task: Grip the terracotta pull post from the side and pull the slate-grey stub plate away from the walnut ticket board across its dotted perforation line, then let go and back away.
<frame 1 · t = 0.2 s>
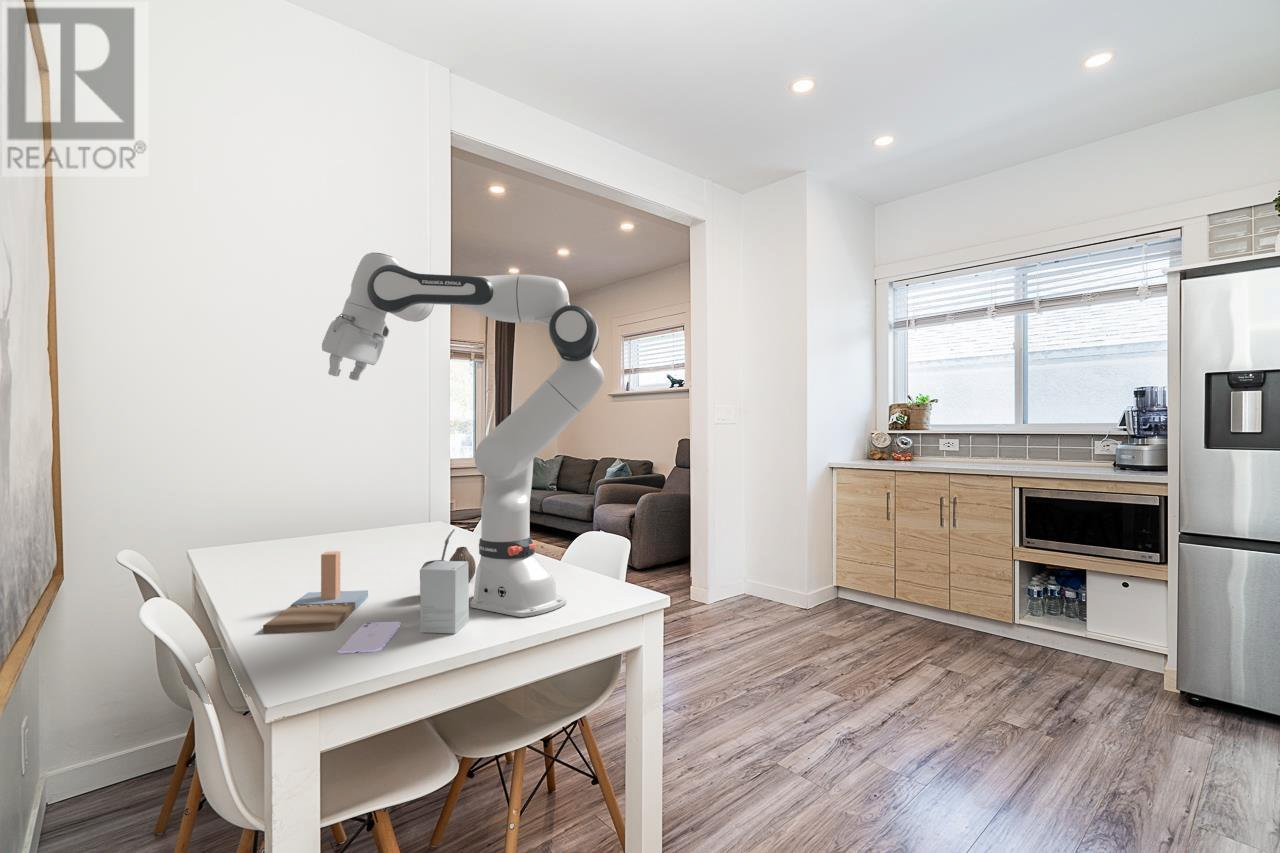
hand: (343, 377, 135), 51 cm above the table, tool tilted 15°, fingers open, 8 cm apart
vase: (461, 582, 151), on the table
supplement box: (445, 628, 117), on the table
ticket board: (323, 611, 126), on the table
mate gourd: (437, 596, 138), on the table
stub: (331, 578, 131), point 6 cm above the table, slide at 0.0 cm
mobile phone: (371, 640, 112), on the table
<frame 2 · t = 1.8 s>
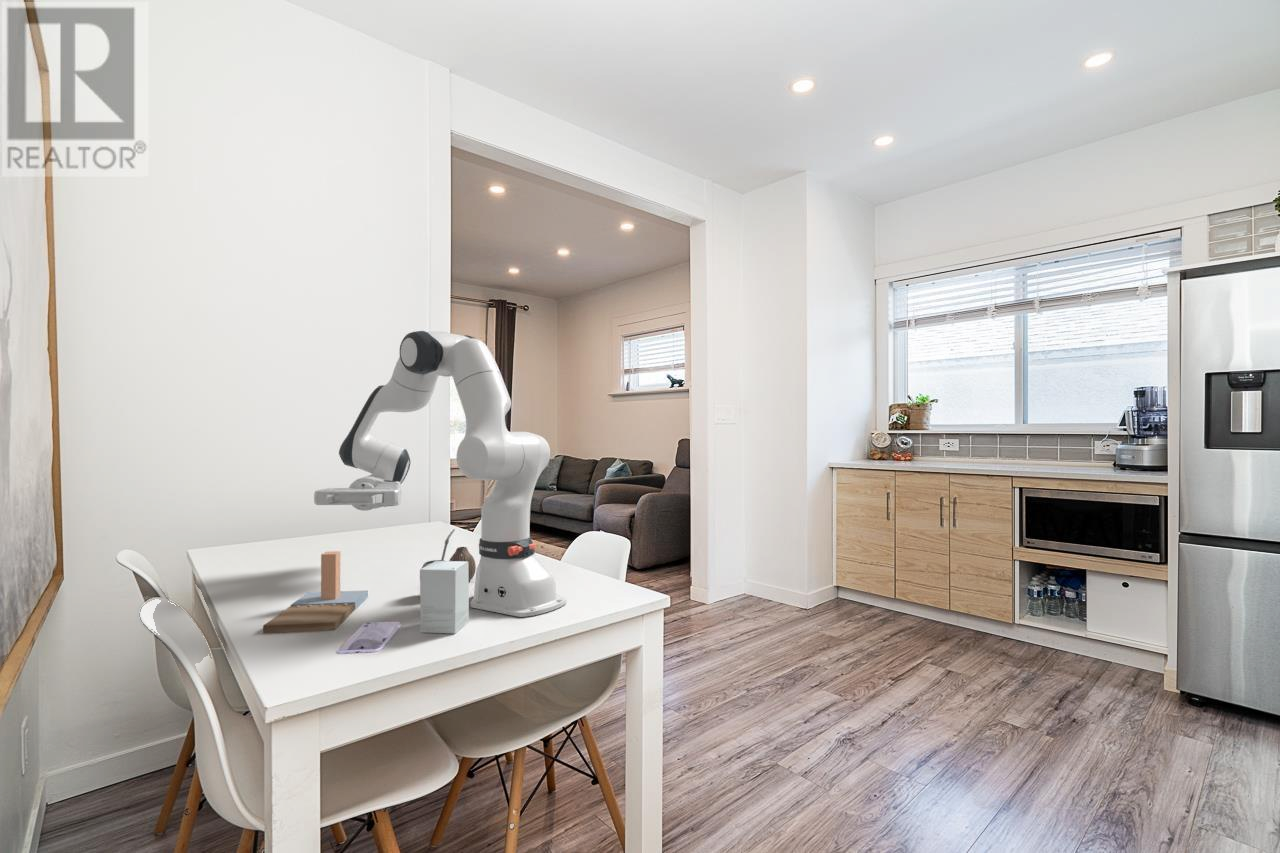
hand: (349, 500, 143), 22 cm above the table, tool horizontal, fingers open, 8 cm apart
nothing on the table moved.
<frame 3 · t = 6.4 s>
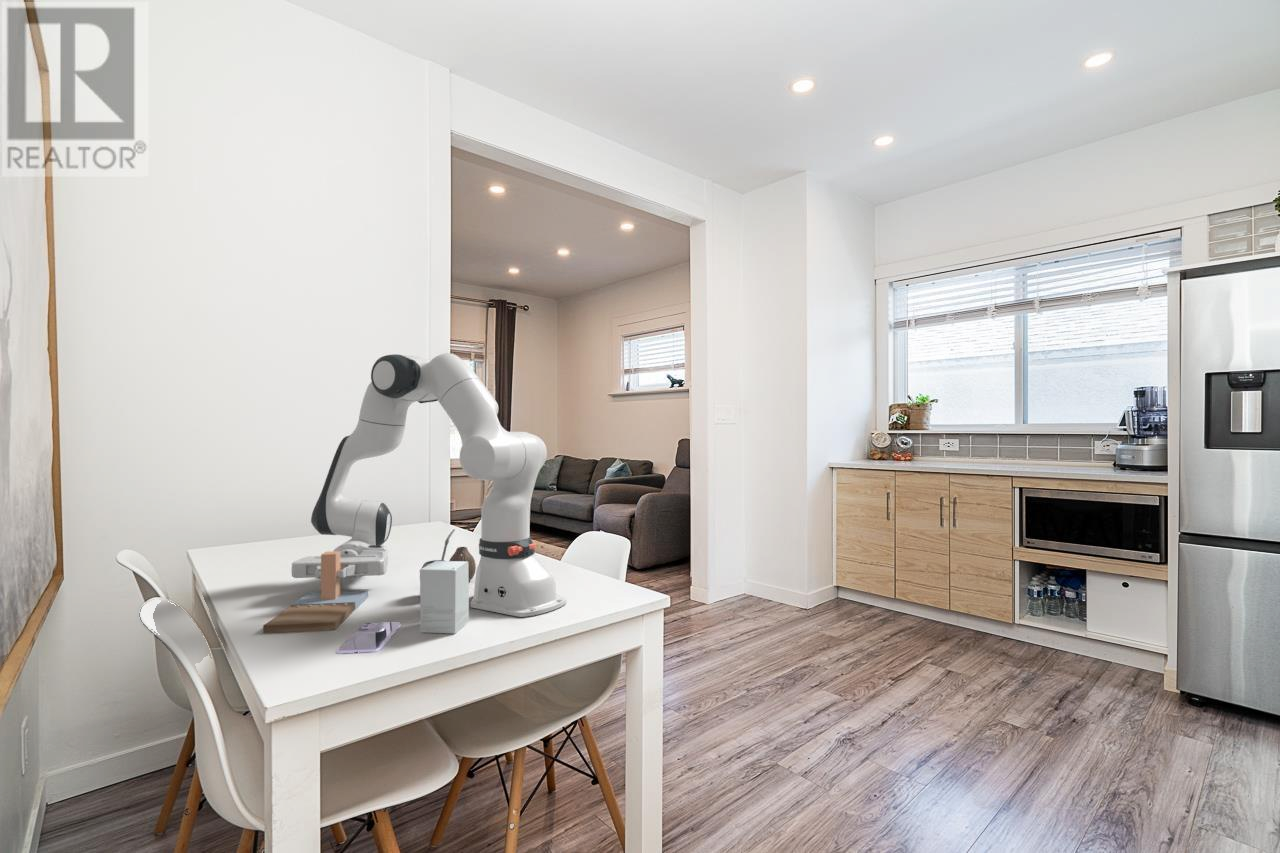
hand: (329, 574, 130), 7 cm above the table, tool horizontal, fingers closed on stub, 3 cm apart
stub: (331, 578, 131), point 6 cm above the table, slide at 0.0 cm, touching gripper
everything else where it was.
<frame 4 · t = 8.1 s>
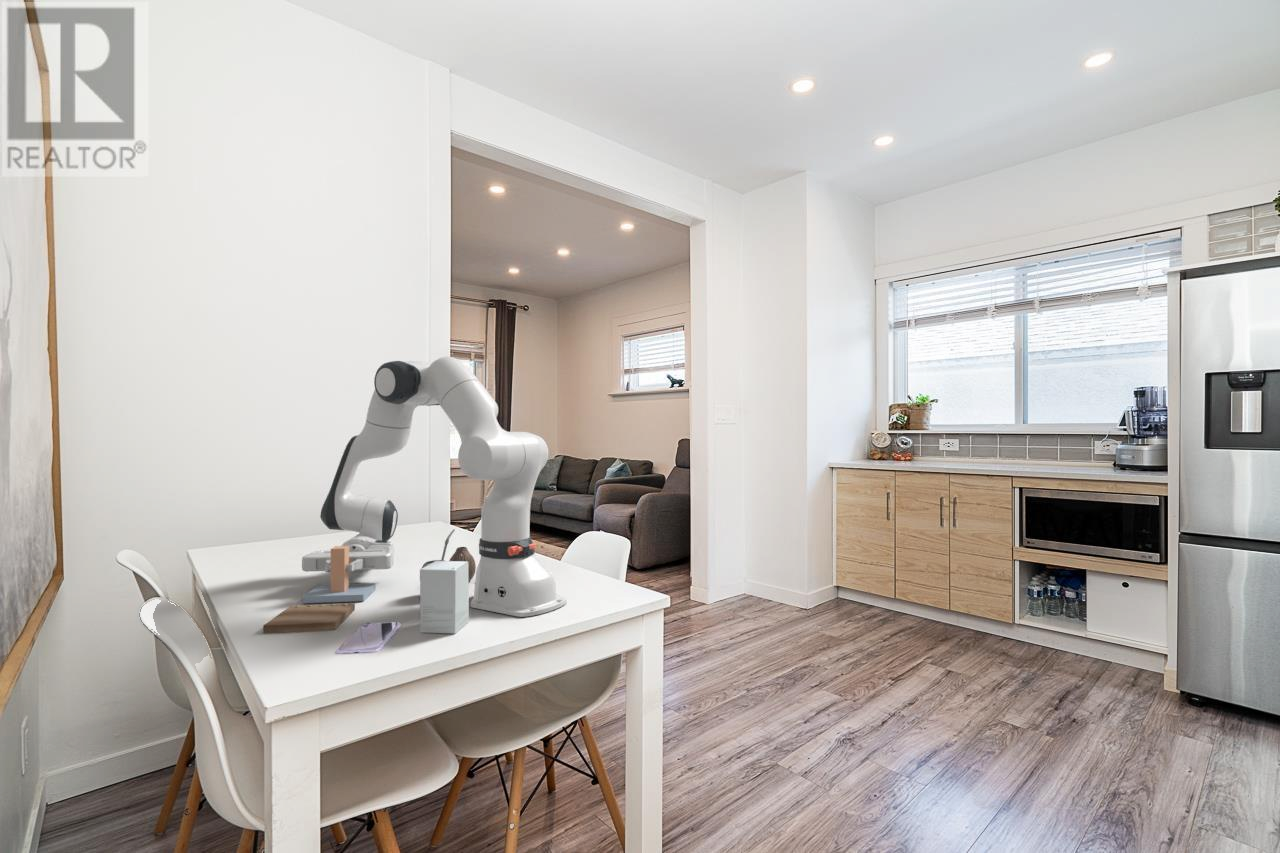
hand: (338, 568, 136), 7 cm above the table, tool horizontal, fingers closed on stub, 3 cm apart
stub: (340, 571, 136), point 6 cm above the table, slide at 5.7 cm, touching gripper
everything else where it was.
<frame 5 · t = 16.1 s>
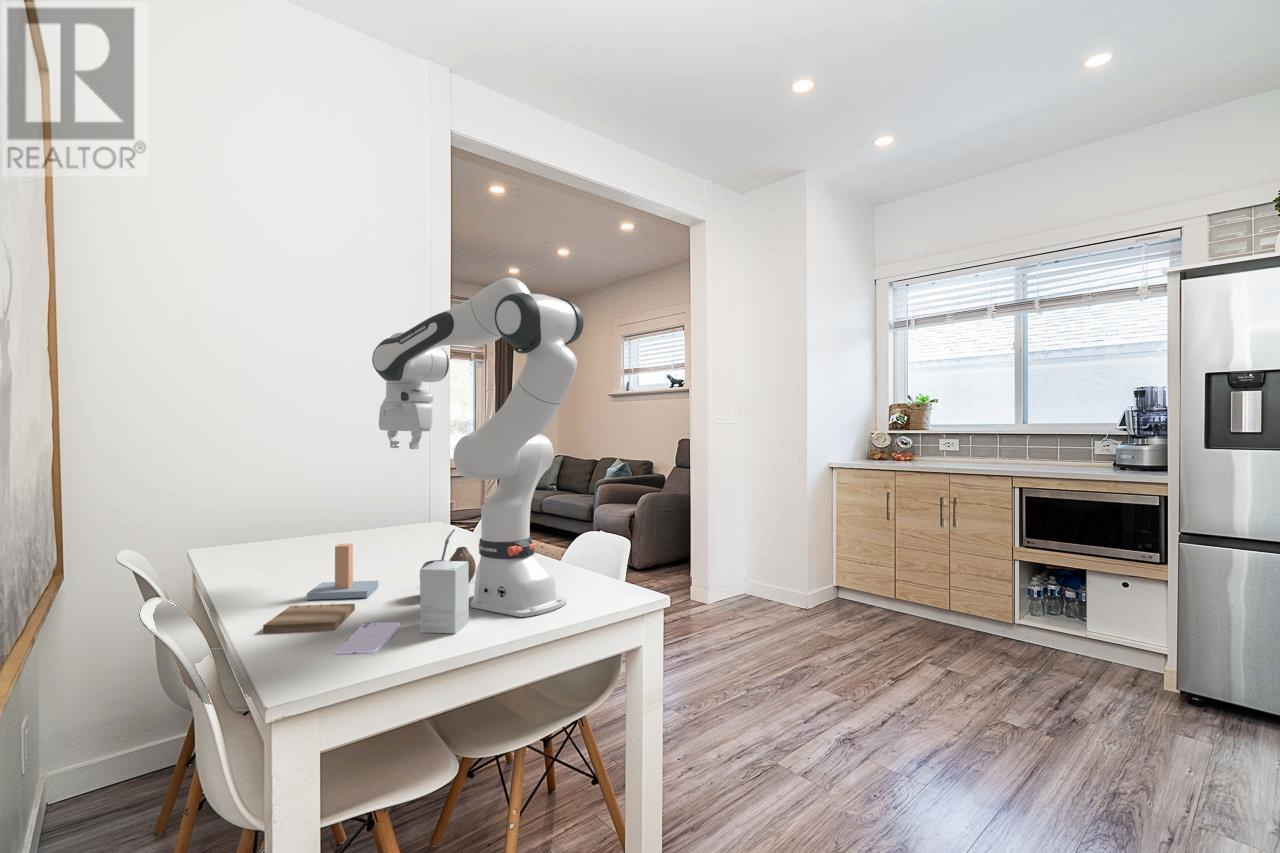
hand: (404, 448, 153), 34 cm above the table, tool pointing down, fingers open, 8 cm apart
stub: (344, 568, 139), point 6 cm above the table, slide at 8.4 cm
everything else where it was.
at the end: stub slide at 8.4 cm; the gripper is holding nothing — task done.
